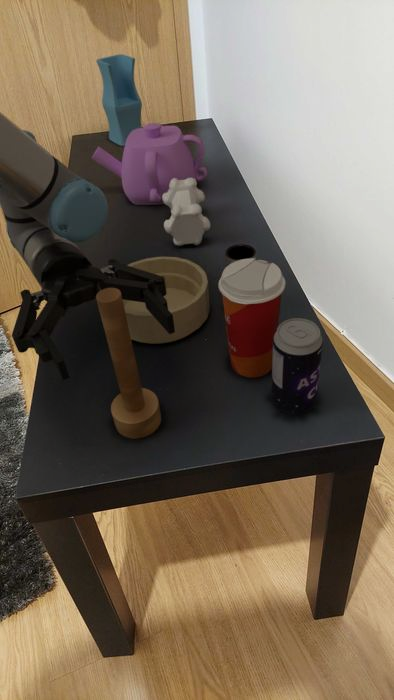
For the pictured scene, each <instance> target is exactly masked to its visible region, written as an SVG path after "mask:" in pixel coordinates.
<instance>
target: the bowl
mask: <svg viewBox="0 0 394 700" xmlns="http://www.w3.org/2000/svg"><path fill="white" fill-rule="evenodd" d="M126 265H127V266H131V267H134V268H137V269H140V270H143V271H147V272H150V273H153V274H156V275H159V276H163V277H164V278H165V285H166V292H167V294H166V295H165V296H163V297H164V298H165V299H166V300H167V305H168V310H169V311H170V312H171V313H172V314H173V320H174V328H175V332H174V333H172V334H169V333H168V332H167V331H166V330H165V329H164V328H163V326H162V325H161V324H160V323H159V322H158V321H157V320H156V319H155V317H154V316H153V315H152V314H151V313H150V312H149V311H148V310H147V309H146V305H145V303H143V302H137V301H130V300H123V299H122V300H123V304H124V309H125V314H126V318H127V323H128V327H129V332H130V337H131V341H136V342H138V343H142V344H151V345H152V344H153V345H156V344H157V345H159V344H168V343H172V342H176V341H179V340H182V339H183V338H185V337H188V336H189V335H191V334H193V333H194V332H195V331H197V330H198V329H200V328H201V327H202V325H203V324H204V323H205V322H206V321H207V319H208V317H209V314H210V309H211V303H210V291H209V290H210V289H209V281H208V276H207V273H206V271H205V270H204V269H203V268H202V267H201V266H200V265H198V264H197V263H195V262H193V261H191V260H189V259H185V258H181V257H178V256H154V257H146V258H142V259H140V260H137V261H134V262H130V263H129V264H126Z"/></svg>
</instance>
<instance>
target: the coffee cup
mask: <svg viewBox="0 0 394 700" xmlns="http://www.w3.org/2000/svg"><path fill="white" fill-rule="evenodd" d="M285 288H286V278H285V277H284V275H283V273H282V271H281V269H280V267H279V266H278V265H277V264H276V263H274V262H270V263H269V261H267V260H264V259H257V258H256V259H255V258H249V259H242V260H238V261H235V262H233V263H231V264H230V265H228V266H227V267H226V266H225V268H224V269H223V271H222V273H221V277H220V278H219V280H218V290H219V292H220V293H221V296H222V305H223V312H224V320H225V328H226V336H227V337H226V338H227V344H228V351H229V358H230V363H231V367H232V369H233V371H234V372H235V373H237V374H238V375H240V376H242V377H244V378H245V377H246V378H260V377H262V376H265V375H267V374H268V373H269V372H270V371H272V362H273V337H274V335H275V333H276V332H277V328H278V326H279V323H280V314H281V313H280V312H281V304H282V294H283V292H284V290H285Z"/></svg>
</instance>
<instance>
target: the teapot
mask: <svg viewBox="0 0 394 700" xmlns="http://www.w3.org/2000/svg"><path fill="white" fill-rule="evenodd" d="M188 142H193V143H195V144H196V145H197V146H198V152H197V156H196V159H195V162H194V157H193V154H192V151H191V149H190V147H189V144H188ZM123 147H124V148H123V153H122V158H121V161H120V160H118V159H117V158H116V157H114V156H113V155H112V154H110V153H109V152H107V151H106V150H105V149H103V148H102V147H100V146H98V147H97V148H96V149H95V151H94V153H93V155H92V157H91V159H92V160H93V161H95V162H96V163H98V164H99V165H101V166H102V167H104V168H105V169H106V170H108V171H110V173H113V174H115V175H116V176H117V177H119V178H120V179H121V184H122V190H123V192H124V194H125V196H126V198H127V199H128V200H129V201H130V202H131V203H132V204H134V205H136V206H158V205H166V204H165V203H164V202H163V200H162V195H163V194H164V193H167V192H168V190H169V184H170V181H171V180H172V179H173V178H176V179H178V180H186V179H187V178H194V179H195V180H196V182H200V181H204V180H205V179H206V178H207V175H208V172H207V169H206V168H205V167H204V166H200V165H201V164H202V160H203V157H204V154H205V153H204V152H205V145H204V142H203V140H202V139H201V138H200V137H199V136H197V135H196V134H195V135H194V134H185V135H184V133H183V132H182V130H181V129H180V127H178V126H176V125H162V124H161V123H160V122H150V123H147V124H145V125H143V127H142V128H137V129H135V130H133V131H132V132H131V133H130V134H129V136H128V137H127V139H126V143H125V146H123ZM199 172H202V174H199Z"/></svg>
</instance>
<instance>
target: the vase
mask: <svg viewBox="0 0 394 700" xmlns="http://www.w3.org/2000/svg"><path fill="white" fill-rule="evenodd" d="M95 61H96V64H97V66H98V69H99V72H100V75H101V79H102V86H103V89H102V99H101V104H102V105H101V106H102V108H103V111H104V113H105V116H106V119H107V122H108V140H109V141H111V142H113V143H115V144H116V145H118V146H120V147H125V143H126V139H127V137H128V136H129V134H130V133H131V132H132V131H133V130H135V129H137V128H143V127H142V110H143V109H142V107H143V103H142V99H141V97H140V95H139V93H138V90H137V87H136V83H135V64H136V58H135V57H132V56H129V55H126V54H121V53H120V54H119V53H118V54H114V55H110V56H105V57H100V58H97V59H96V60H95Z"/></svg>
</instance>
